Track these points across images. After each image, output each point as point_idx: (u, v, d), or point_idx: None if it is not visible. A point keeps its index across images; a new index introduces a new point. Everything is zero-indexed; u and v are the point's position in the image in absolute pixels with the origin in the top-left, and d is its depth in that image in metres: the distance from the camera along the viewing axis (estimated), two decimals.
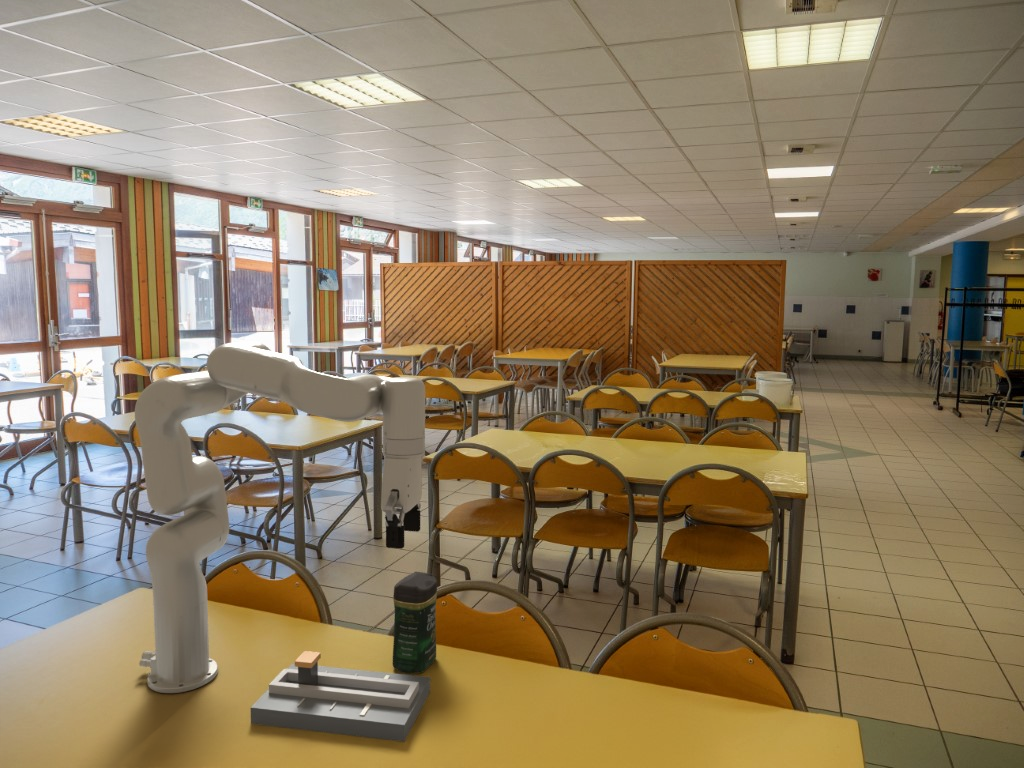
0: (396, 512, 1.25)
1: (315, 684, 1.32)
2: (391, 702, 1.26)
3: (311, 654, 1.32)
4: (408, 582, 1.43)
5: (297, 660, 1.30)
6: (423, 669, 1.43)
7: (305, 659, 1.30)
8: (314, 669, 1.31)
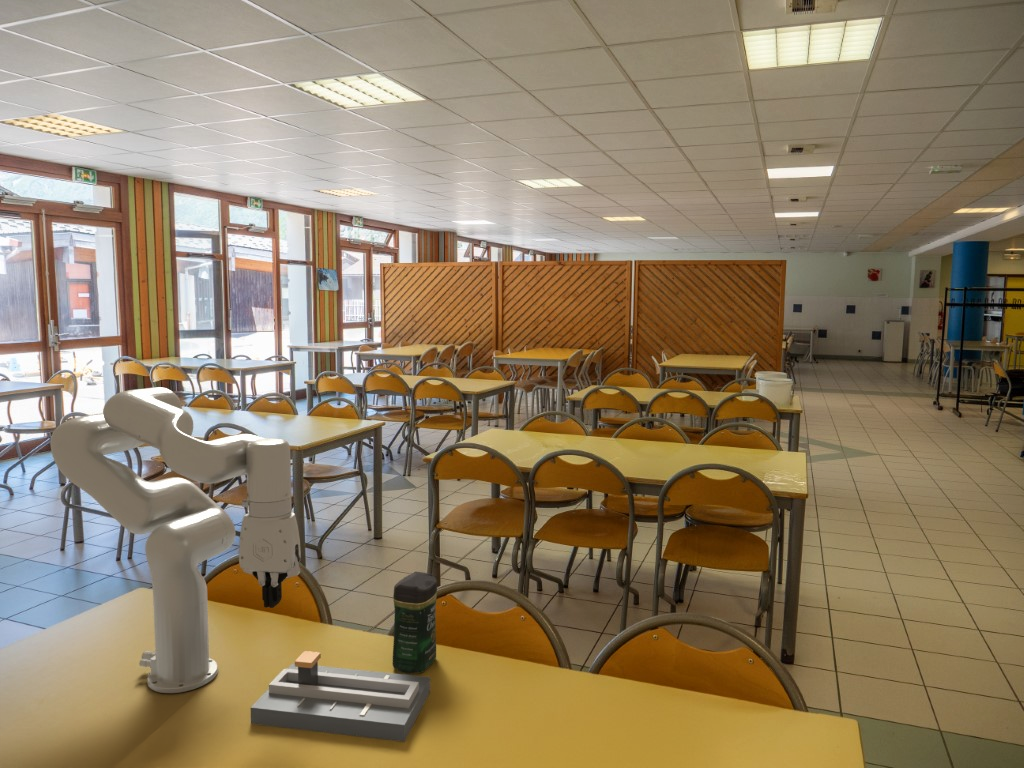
0: None
1: (315, 684, 1.32)
2: (391, 702, 1.26)
3: (311, 654, 1.32)
4: (408, 582, 1.43)
5: (297, 660, 1.30)
6: (423, 669, 1.43)
7: (305, 659, 1.30)
8: (314, 669, 1.31)
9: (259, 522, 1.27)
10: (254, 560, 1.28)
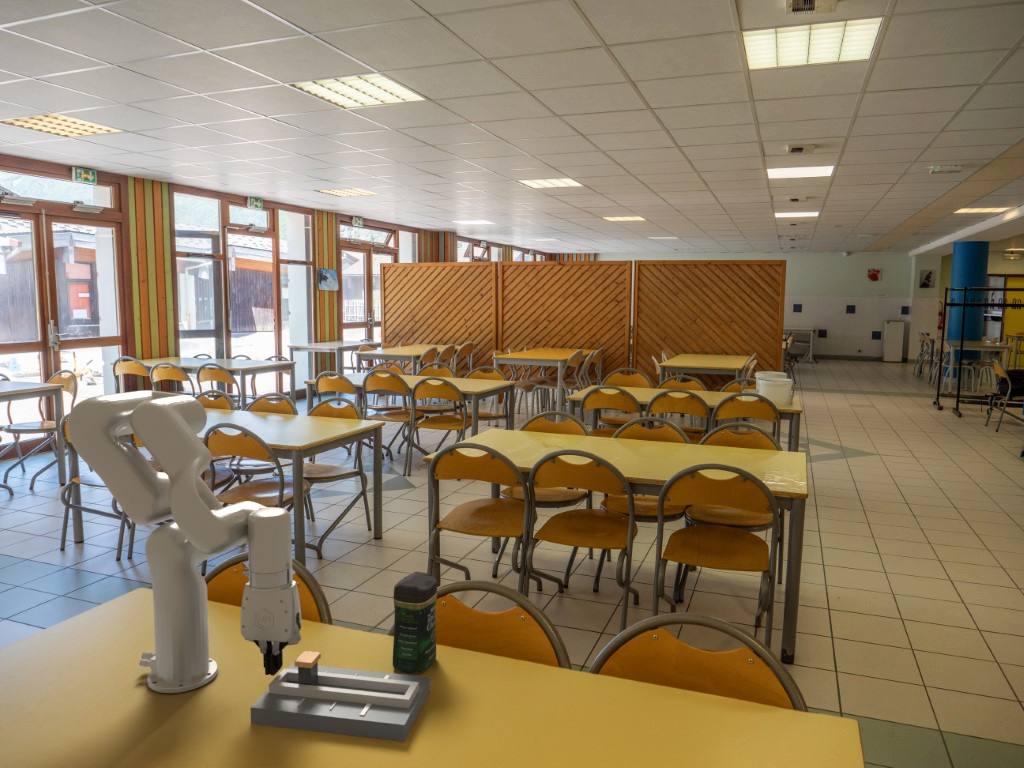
0: None
1: (315, 684, 1.32)
2: (391, 702, 1.26)
3: (311, 654, 1.32)
4: (408, 582, 1.43)
5: (297, 660, 1.30)
6: (423, 669, 1.43)
7: (305, 659, 1.30)
8: (314, 669, 1.31)
9: (260, 592, 1.28)
10: (255, 629, 1.29)
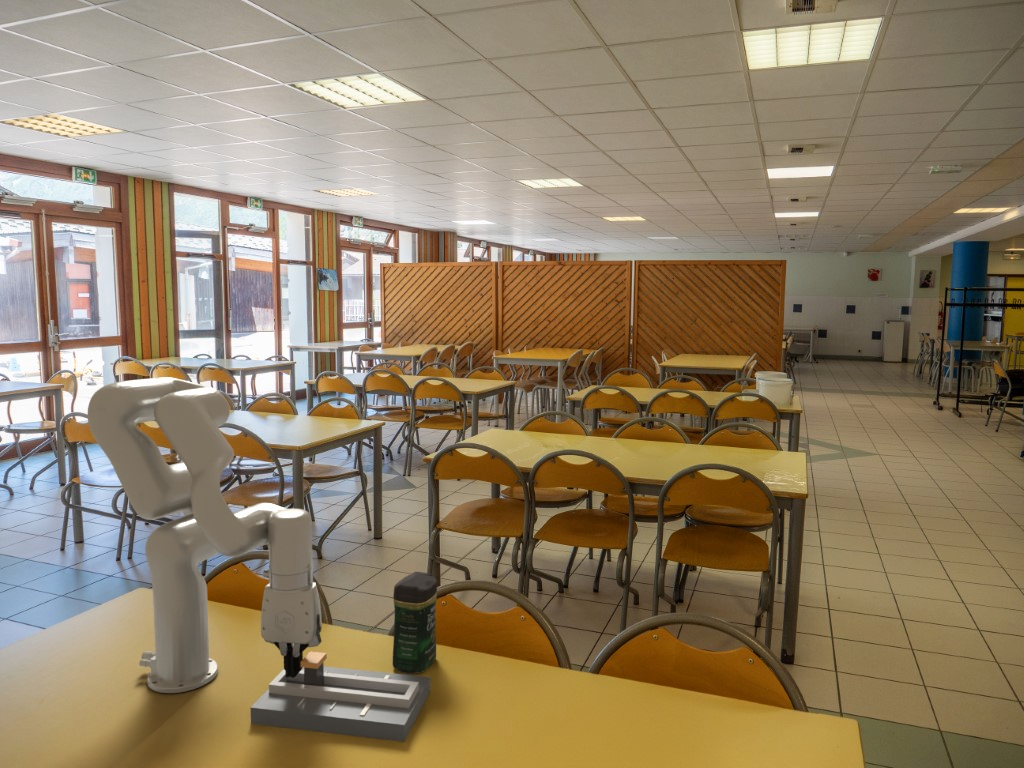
0: None
1: (321, 684, 1.32)
2: (391, 702, 1.26)
3: (316, 655, 1.32)
4: (408, 582, 1.43)
5: (303, 661, 1.29)
6: (423, 669, 1.43)
7: (311, 660, 1.30)
8: (320, 670, 1.31)
9: (281, 594, 1.28)
10: (276, 631, 1.28)
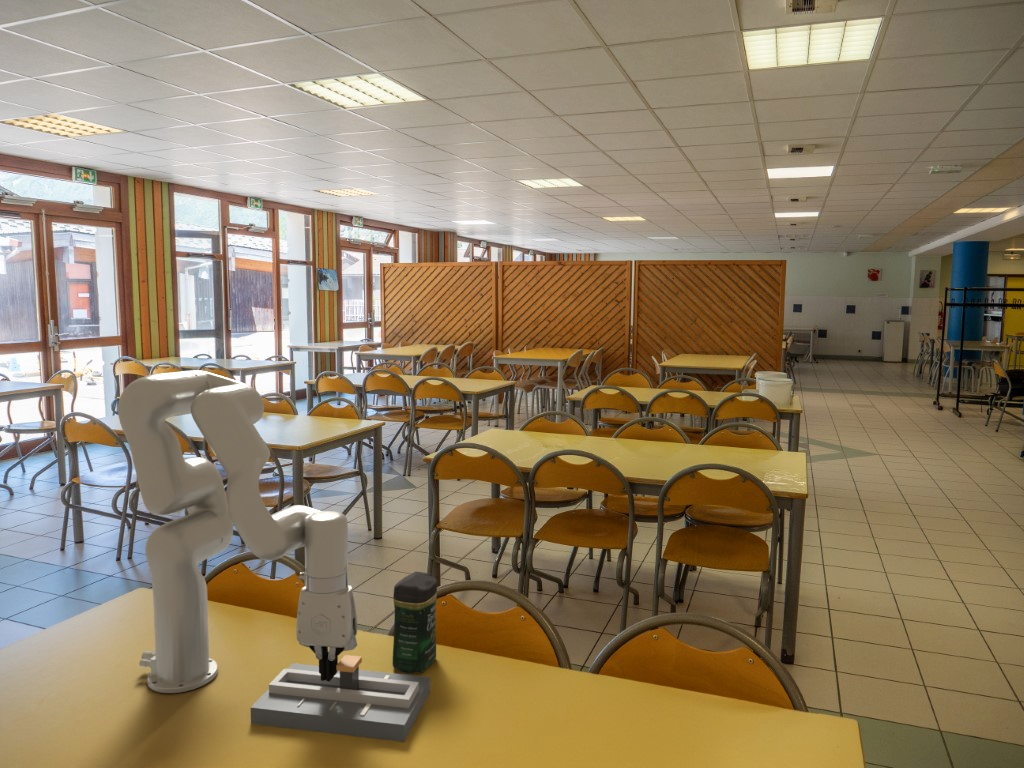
0: None
1: (356, 688, 1.31)
2: (391, 702, 1.26)
3: (352, 658, 1.31)
4: (408, 582, 1.43)
5: (339, 664, 1.28)
6: (423, 669, 1.43)
7: (346, 664, 1.29)
8: (355, 673, 1.30)
9: (317, 597, 1.26)
10: (312, 634, 1.27)
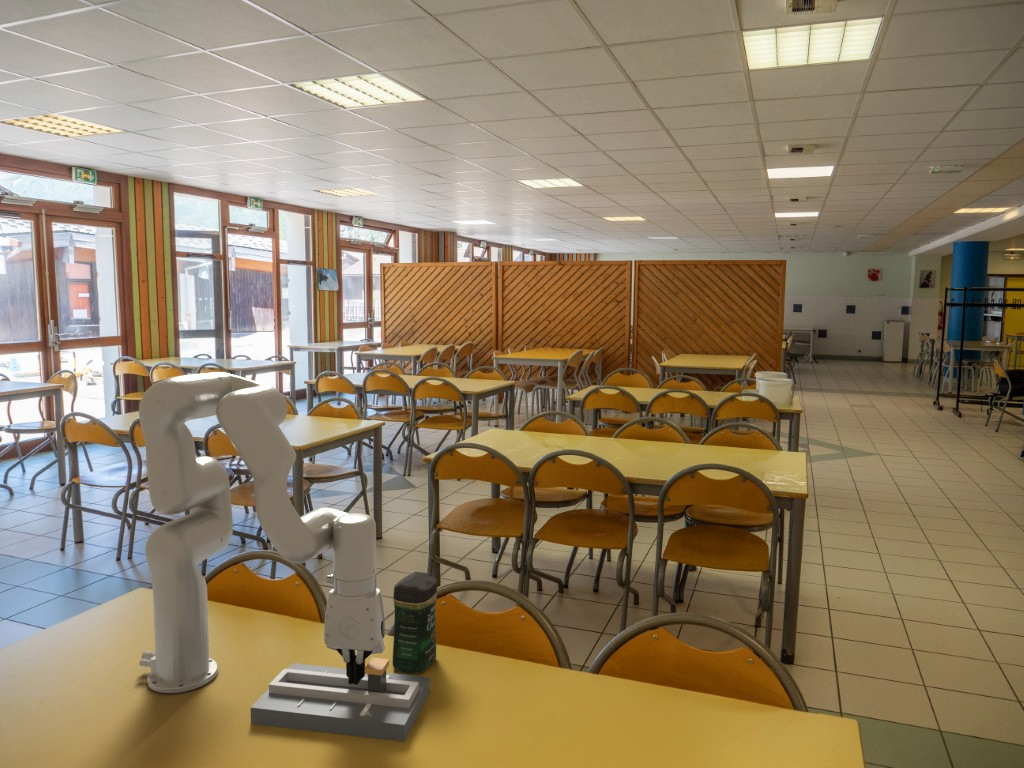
0: None
1: (384, 691, 1.30)
2: (391, 702, 1.26)
3: (379, 661, 1.30)
4: (408, 582, 1.43)
5: (367, 667, 1.27)
6: (423, 669, 1.43)
7: (374, 666, 1.28)
8: (383, 676, 1.29)
9: (346, 600, 1.26)
10: (340, 638, 1.26)
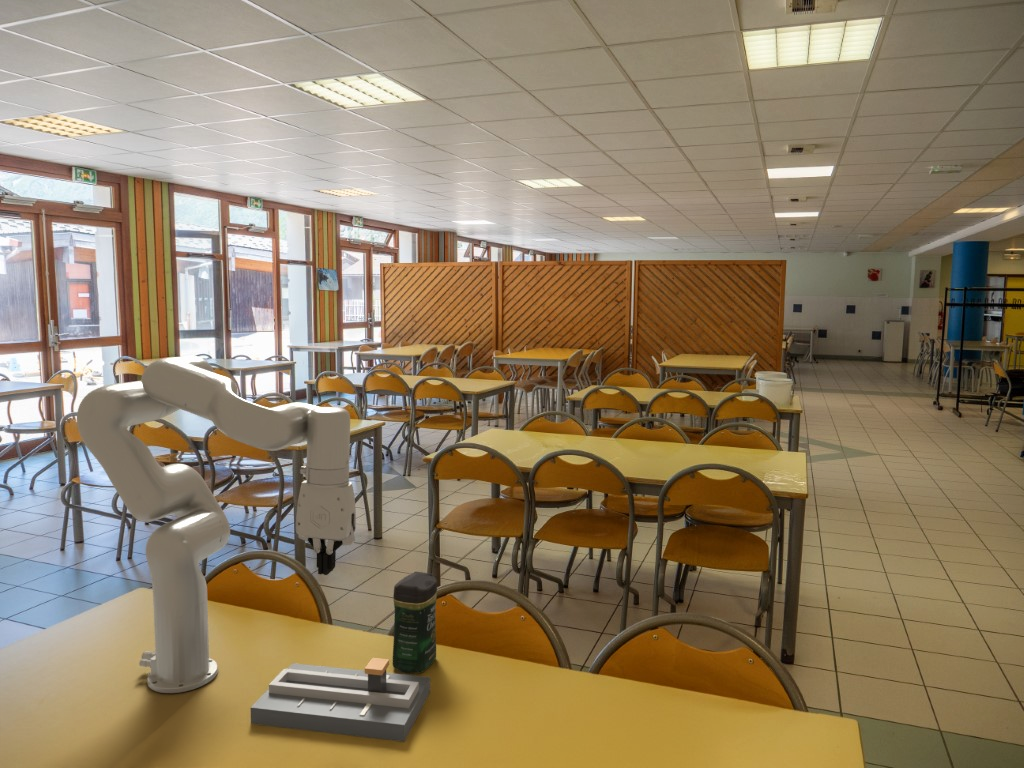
0: None
1: (384, 691, 1.30)
2: (391, 702, 1.26)
3: (379, 661, 1.30)
4: (408, 582, 1.43)
5: (367, 667, 1.27)
6: (423, 669, 1.43)
7: (374, 666, 1.28)
8: (383, 676, 1.29)
9: (317, 489, 1.28)
10: (311, 527, 1.28)
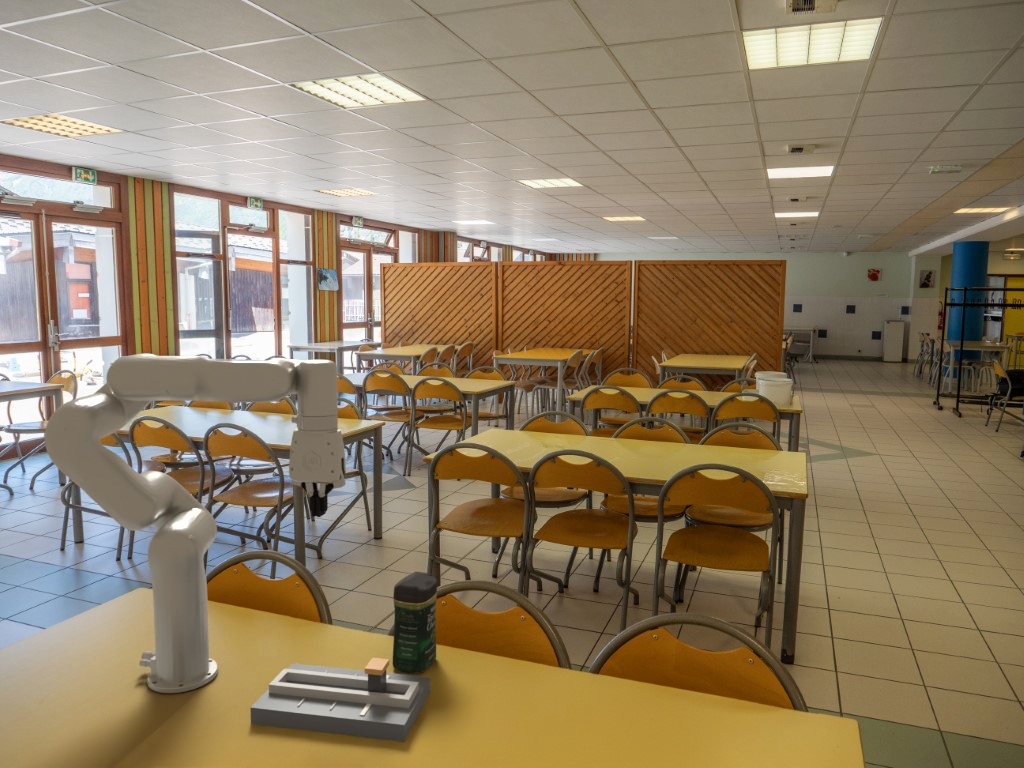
0: (326, 482, 1.40)
1: (384, 691, 1.30)
2: (391, 702, 1.26)
3: (379, 661, 1.30)
4: (408, 582, 1.43)
5: (367, 667, 1.27)
6: (423, 669, 1.43)
7: (374, 666, 1.28)
8: (383, 676, 1.29)
9: (309, 435, 1.37)
10: (303, 471, 1.37)
